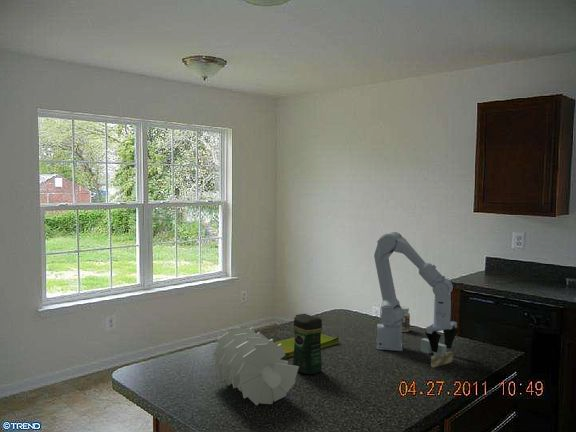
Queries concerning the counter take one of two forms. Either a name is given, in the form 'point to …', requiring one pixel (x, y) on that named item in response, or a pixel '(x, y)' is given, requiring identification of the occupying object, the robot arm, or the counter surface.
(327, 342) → the dish towel
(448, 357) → the birch board
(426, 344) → the notched plate
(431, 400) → the counter surface
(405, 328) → the pill bottle
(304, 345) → the coffee jar
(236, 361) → the spiral staircase
